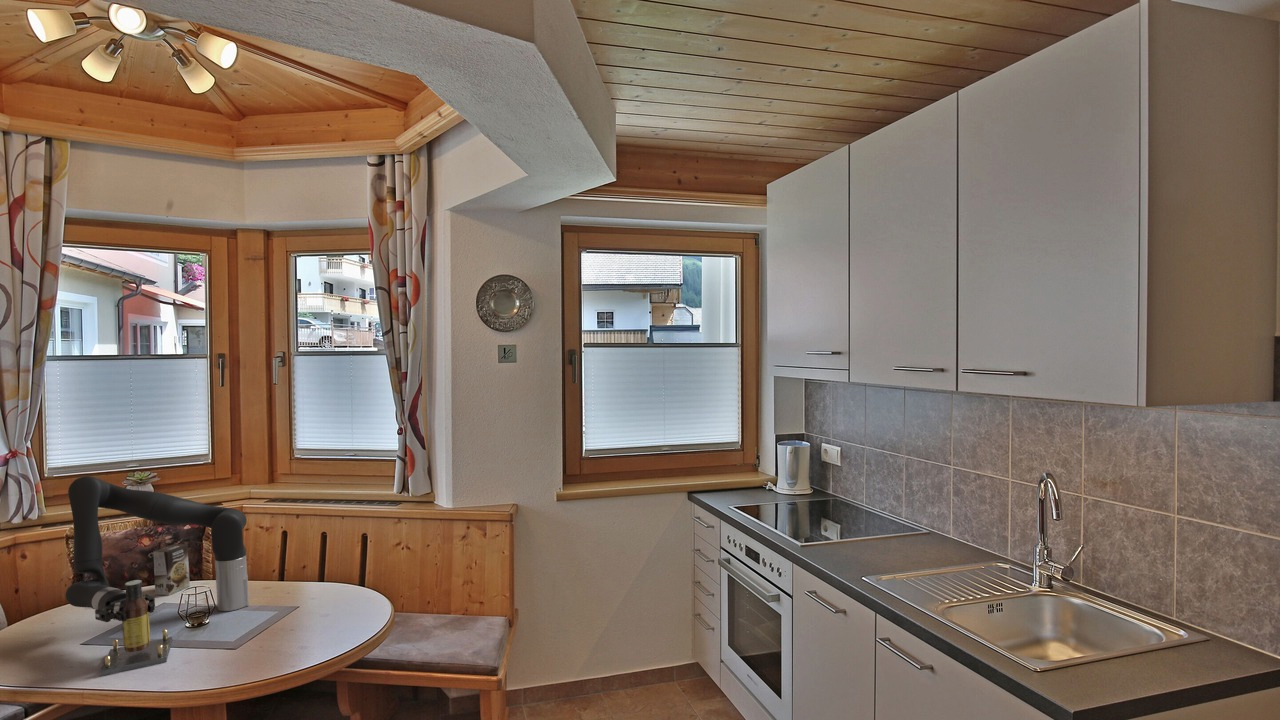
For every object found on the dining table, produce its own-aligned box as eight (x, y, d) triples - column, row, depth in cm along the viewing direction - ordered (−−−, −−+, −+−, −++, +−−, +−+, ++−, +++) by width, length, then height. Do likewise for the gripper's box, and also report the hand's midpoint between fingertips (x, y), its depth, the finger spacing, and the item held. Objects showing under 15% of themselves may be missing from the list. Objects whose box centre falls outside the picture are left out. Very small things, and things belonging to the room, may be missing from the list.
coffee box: (169, 595, 245) (166, 551, 244) (154, 594, 246) (152, 551, 245) (190, 586, 254) (188, 544, 253) (176, 585, 255) (174, 543, 254)
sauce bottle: (133, 643, 200) (130, 577, 199) (155, 642, 200) (152, 577, 199) (118, 654, 193) (114, 586, 192) (141, 653, 194) (138, 585, 193)
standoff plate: (172, 641, 207) (171, 627, 207) (166, 661, 194) (165, 646, 194) (110, 654, 200) (109, 639, 200) (100, 676, 187) (99, 660, 186)
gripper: (82, 598, 197) (108, 609, 189) (138, 581, 210) (166, 592, 201) (83, 623, 198) (110, 636, 189) (140, 605, 210) (167, 616, 201)
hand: (138, 613), depth 195 cm, fingers closed on sauce bottle, 6 cm apart
